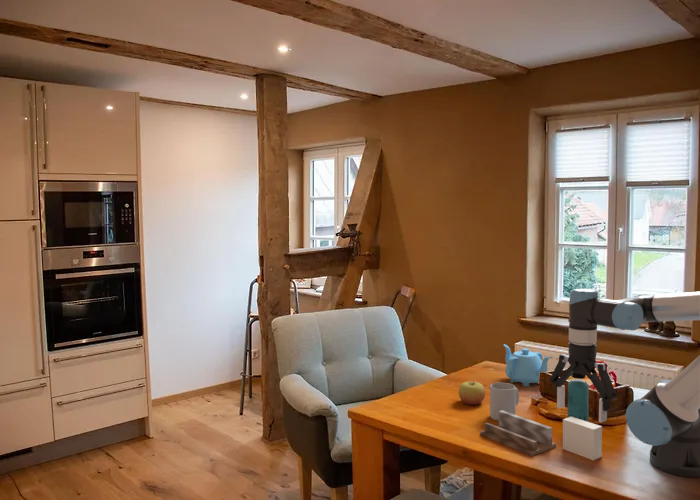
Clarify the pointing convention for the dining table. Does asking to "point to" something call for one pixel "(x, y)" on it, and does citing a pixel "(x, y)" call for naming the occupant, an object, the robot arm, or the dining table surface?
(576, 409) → the beverage bottle
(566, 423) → the white rectangular block
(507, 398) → the mug
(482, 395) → the apple
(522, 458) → the dining table surface
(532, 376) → the teapot
